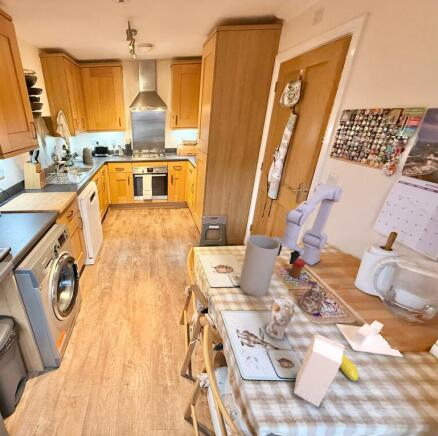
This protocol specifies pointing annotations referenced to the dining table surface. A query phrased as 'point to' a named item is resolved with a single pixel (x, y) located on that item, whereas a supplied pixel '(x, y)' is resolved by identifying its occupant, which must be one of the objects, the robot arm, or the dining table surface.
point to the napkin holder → (367, 338)
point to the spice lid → (299, 263)
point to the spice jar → (295, 272)
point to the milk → (318, 369)
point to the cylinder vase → (258, 264)
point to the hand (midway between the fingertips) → (284, 259)
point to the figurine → (312, 299)
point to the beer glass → (280, 316)
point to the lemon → (349, 368)
